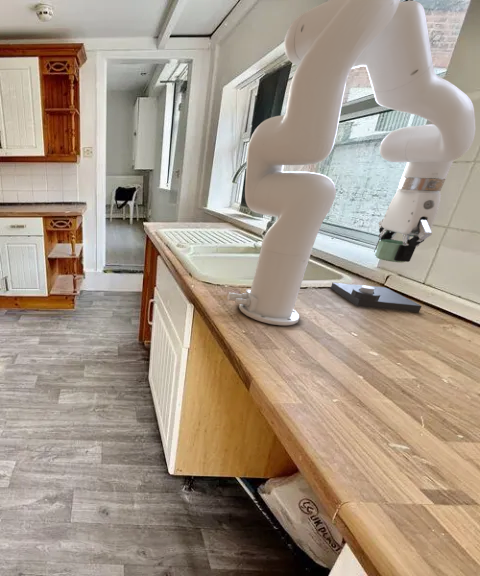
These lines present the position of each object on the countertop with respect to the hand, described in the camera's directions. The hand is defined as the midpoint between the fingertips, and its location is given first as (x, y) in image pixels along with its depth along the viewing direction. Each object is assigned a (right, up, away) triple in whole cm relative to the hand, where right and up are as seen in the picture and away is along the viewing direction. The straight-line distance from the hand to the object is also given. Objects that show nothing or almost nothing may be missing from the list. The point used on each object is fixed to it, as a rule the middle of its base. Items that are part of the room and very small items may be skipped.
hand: (390, 256), depth 81 cm
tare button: (-7, -10, -1) cm, 12 cm away
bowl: (0, -1, 0) cm, 1 cm away
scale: (-2, -11, +3) cm, 12 cm away
